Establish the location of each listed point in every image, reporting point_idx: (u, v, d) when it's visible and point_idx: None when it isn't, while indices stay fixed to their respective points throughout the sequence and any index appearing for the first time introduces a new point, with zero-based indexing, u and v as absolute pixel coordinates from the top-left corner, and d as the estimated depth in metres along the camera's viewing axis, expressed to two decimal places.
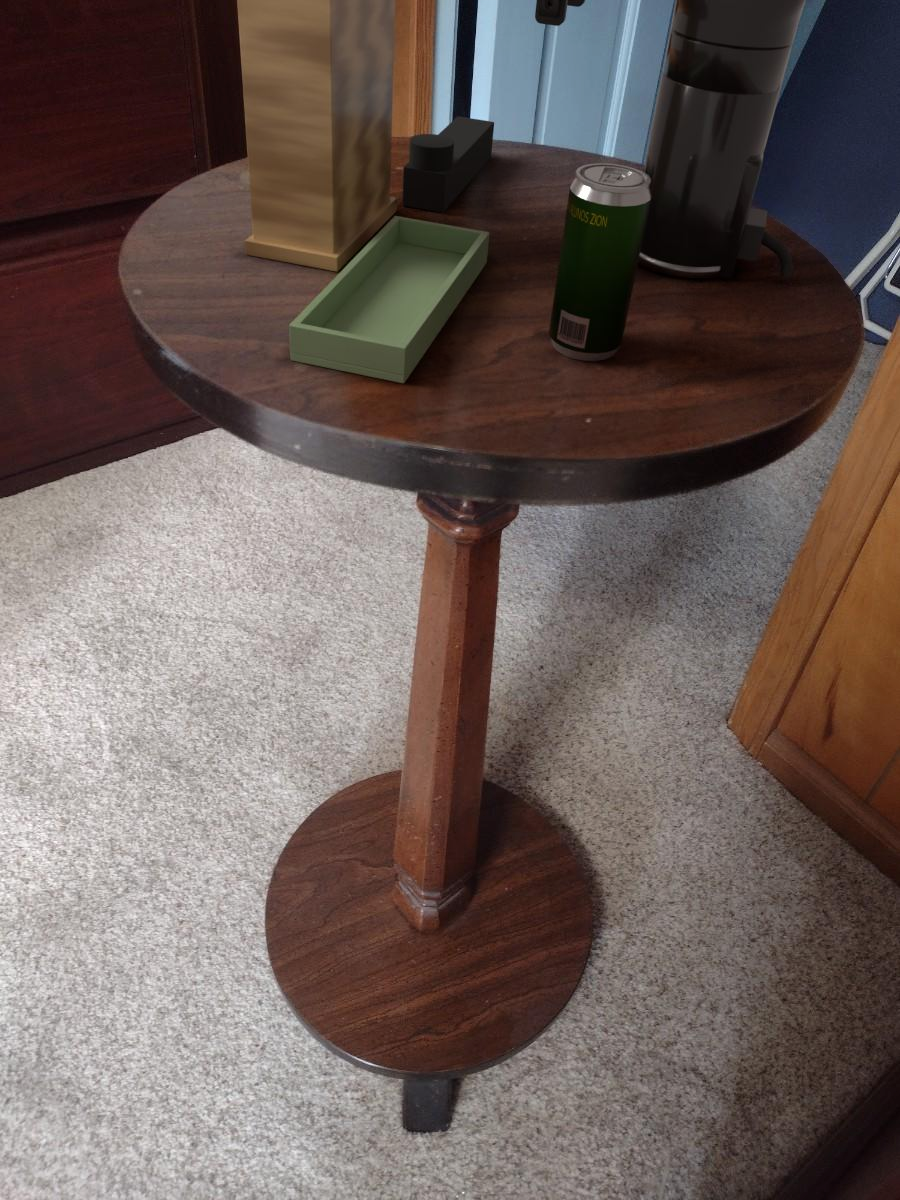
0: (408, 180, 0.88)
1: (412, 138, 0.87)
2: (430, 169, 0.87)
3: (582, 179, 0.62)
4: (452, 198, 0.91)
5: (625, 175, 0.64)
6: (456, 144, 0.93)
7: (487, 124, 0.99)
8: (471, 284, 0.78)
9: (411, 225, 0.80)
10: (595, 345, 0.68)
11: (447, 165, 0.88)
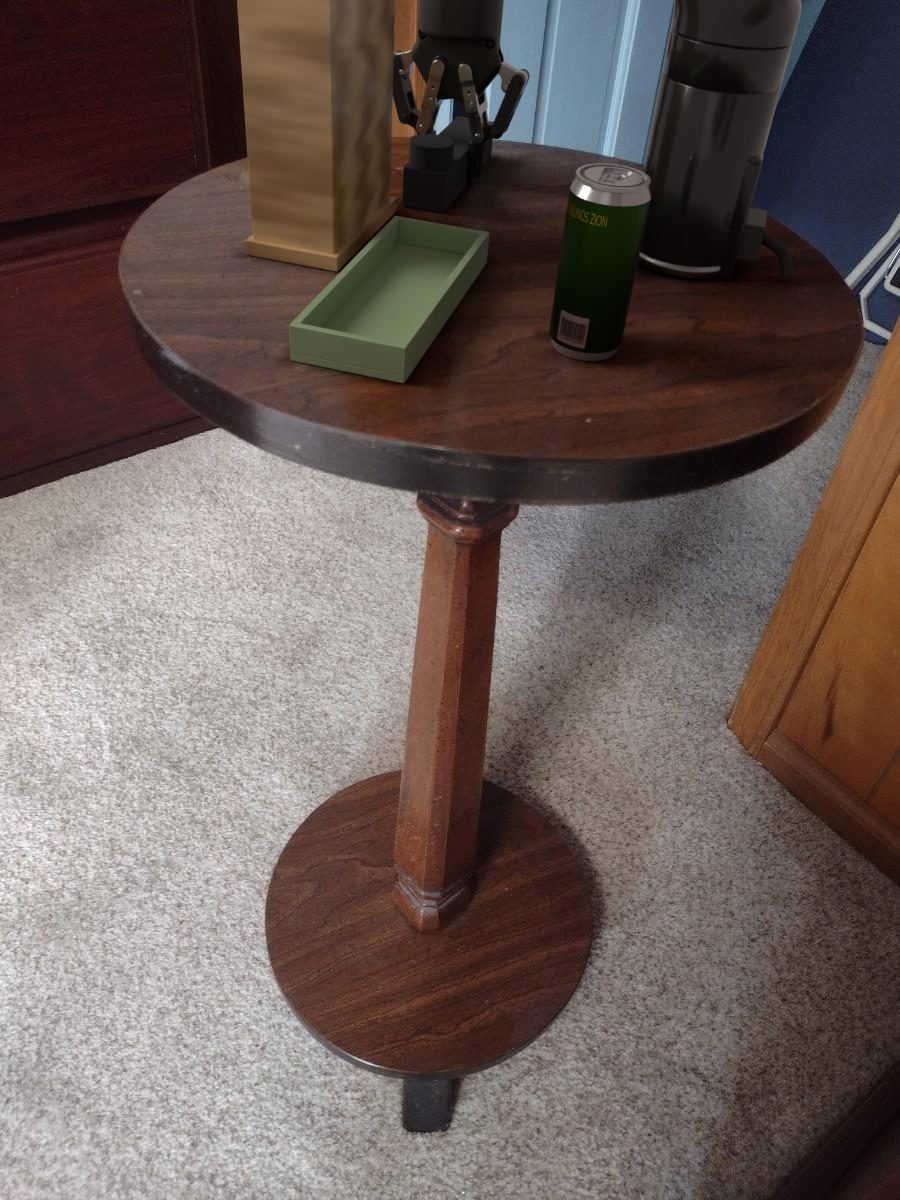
0: (408, 180, 0.88)
1: (412, 138, 0.87)
2: (430, 169, 0.87)
3: (582, 179, 0.62)
4: (452, 198, 0.91)
5: (625, 175, 0.64)
6: (456, 144, 0.93)
7: None
8: (471, 284, 0.78)
9: (411, 225, 0.80)
10: (595, 345, 0.68)
11: (447, 165, 0.88)
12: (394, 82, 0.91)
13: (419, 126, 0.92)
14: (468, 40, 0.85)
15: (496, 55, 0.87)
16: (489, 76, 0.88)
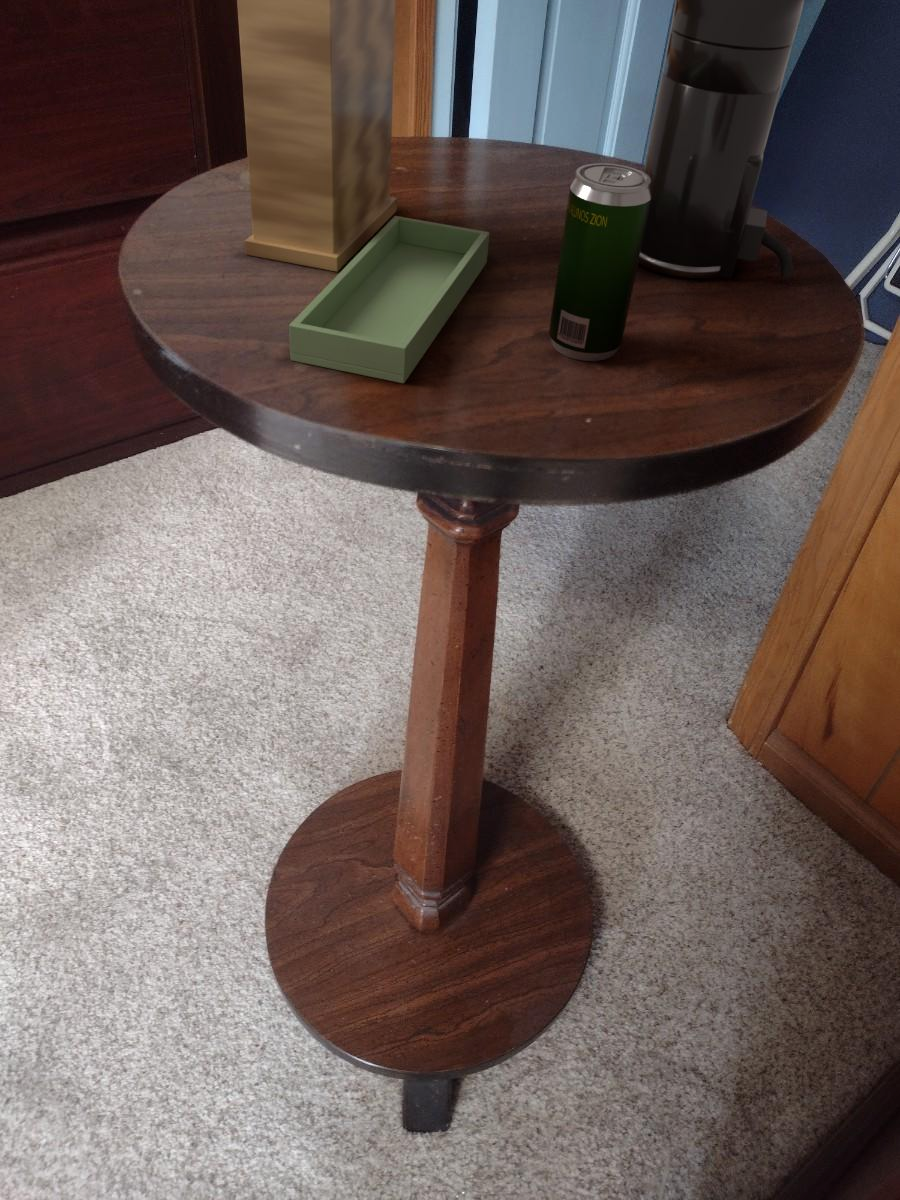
0: None
1: None
2: None
3: (582, 179, 0.62)
4: None
5: (625, 175, 0.64)
6: None
7: None
8: (471, 284, 0.78)
9: (411, 225, 0.80)
10: (595, 345, 0.68)
11: None
12: None
13: None
14: None
15: None
16: None
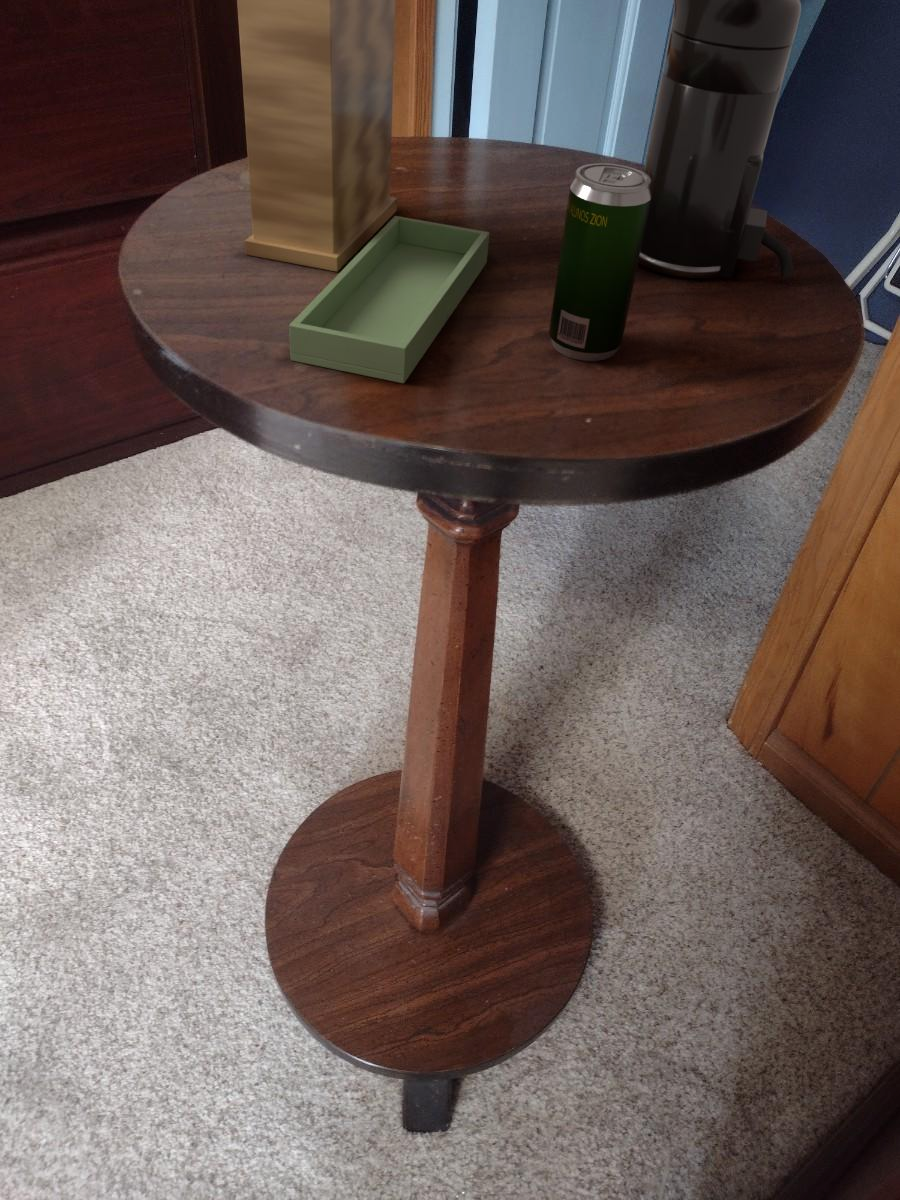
0: None
1: None
2: None
3: (582, 179, 0.62)
4: None
5: (625, 175, 0.64)
6: None
7: None
8: (471, 284, 0.78)
9: (411, 225, 0.80)
10: (595, 345, 0.68)
11: None
12: None
13: None
14: None
15: None
16: None
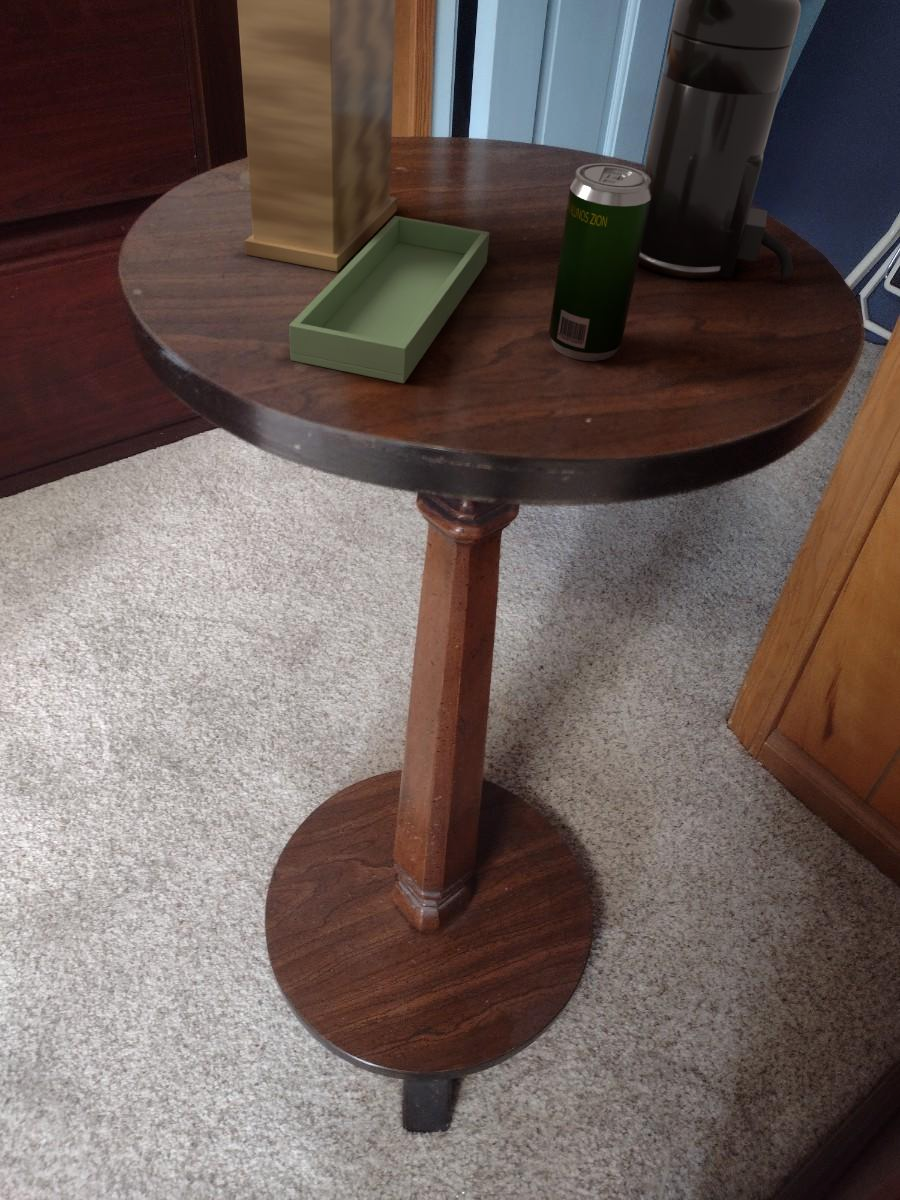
0: None
1: None
2: None
3: (582, 179, 0.62)
4: None
5: (625, 175, 0.64)
6: None
7: None
8: (471, 284, 0.78)
9: (411, 225, 0.80)
10: (595, 345, 0.68)
11: None
12: None
13: None
14: None
15: None
16: None
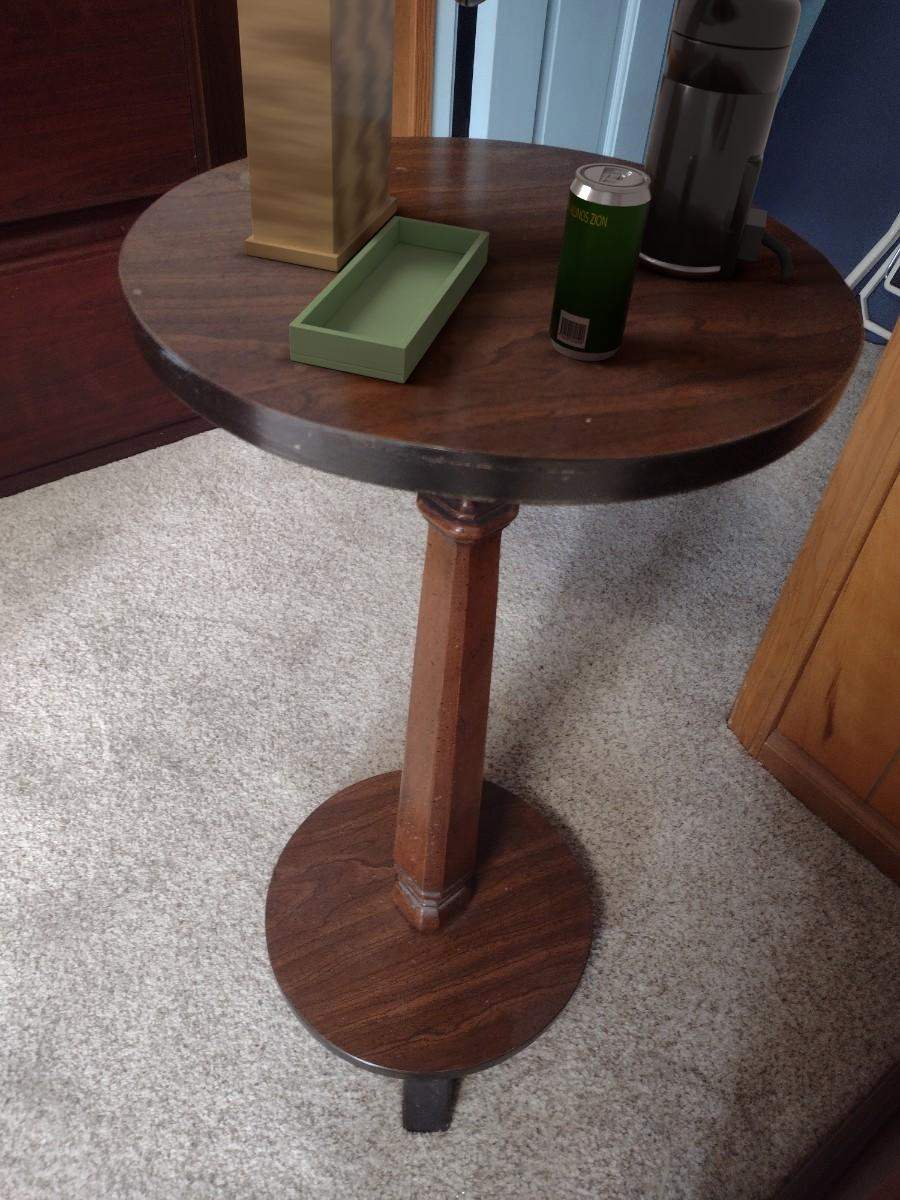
0: None
1: None
2: None
3: (582, 179, 0.62)
4: None
5: (625, 175, 0.64)
6: None
7: None
8: (471, 284, 0.78)
9: (411, 225, 0.80)
10: (595, 345, 0.68)
11: None
12: None
13: None
14: None
15: None
16: None
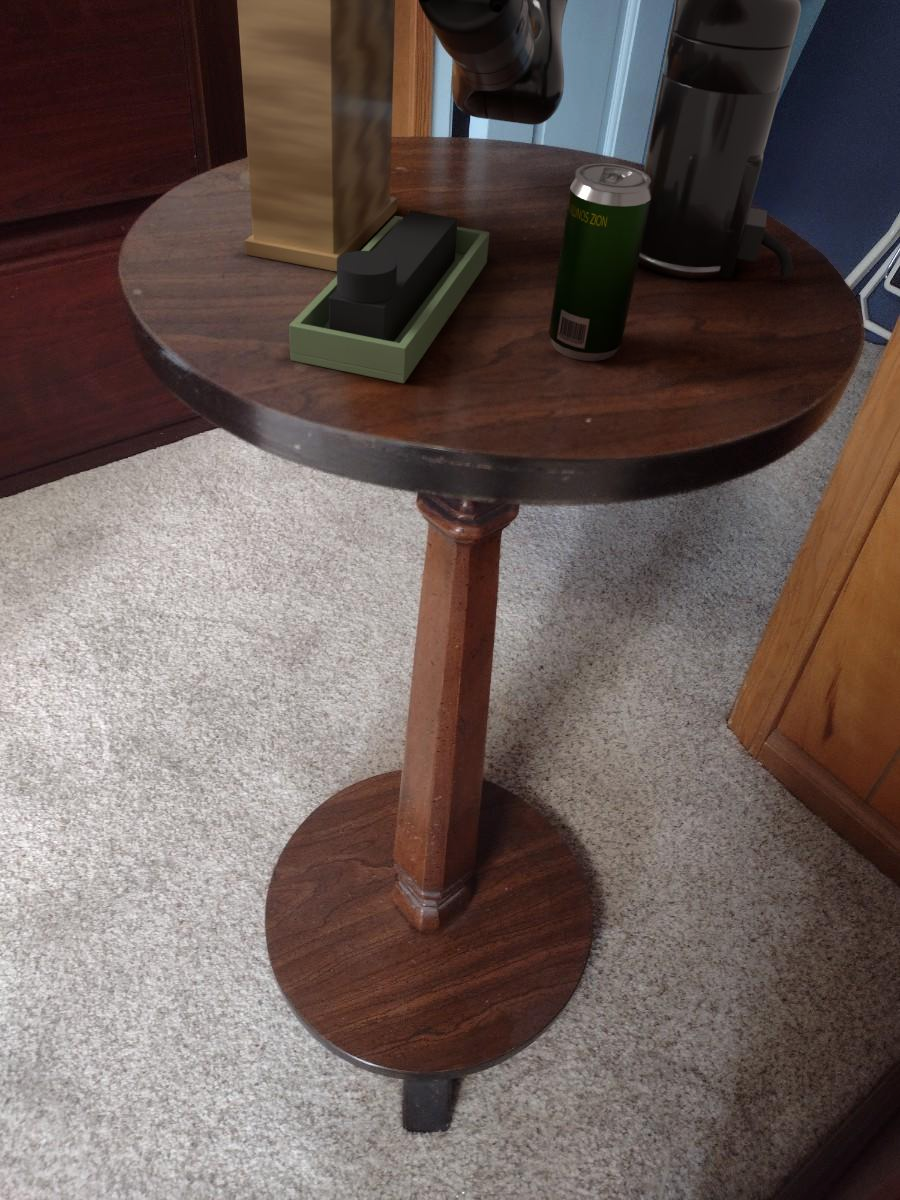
0: (336, 314, 0.65)
1: (340, 259, 0.65)
2: (364, 301, 0.64)
3: (582, 179, 0.62)
4: (397, 332, 0.68)
5: (625, 175, 0.64)
6: (405, 257, 0.71)
7: (448, 222, 0.76)
8: (471, 284, 0.78)
9: None
10: (595, 345, 0.68)
11: (388, 295, 0.65)
12: None
13: None
14: None
15: None
16: None
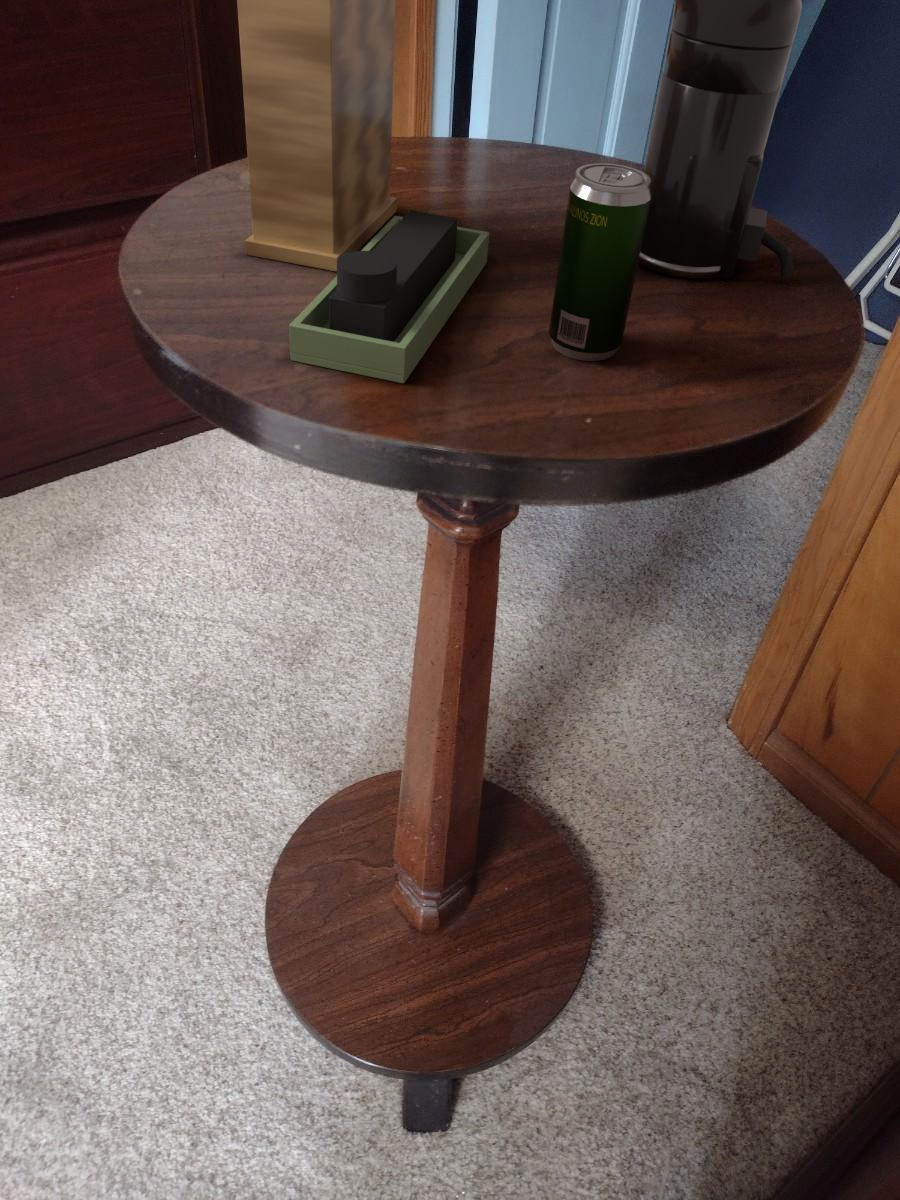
0: (336, 314, 0.65)
1: (340, 259, 0.65)
2: (364, 301, 0.64)
3: (582, 179, 0.62)
4: (397, 332, 0.68)
5: (625, 175, 0.64)
6: (405, 257, 0.71)
7: (448, 222, 0.76)
8: (471, 284, 0.78)
9: None
10: (595, 345, 0.68)
11: (388, 295, 0.65)
12: None
13: None
14: None
15: None
16: None
